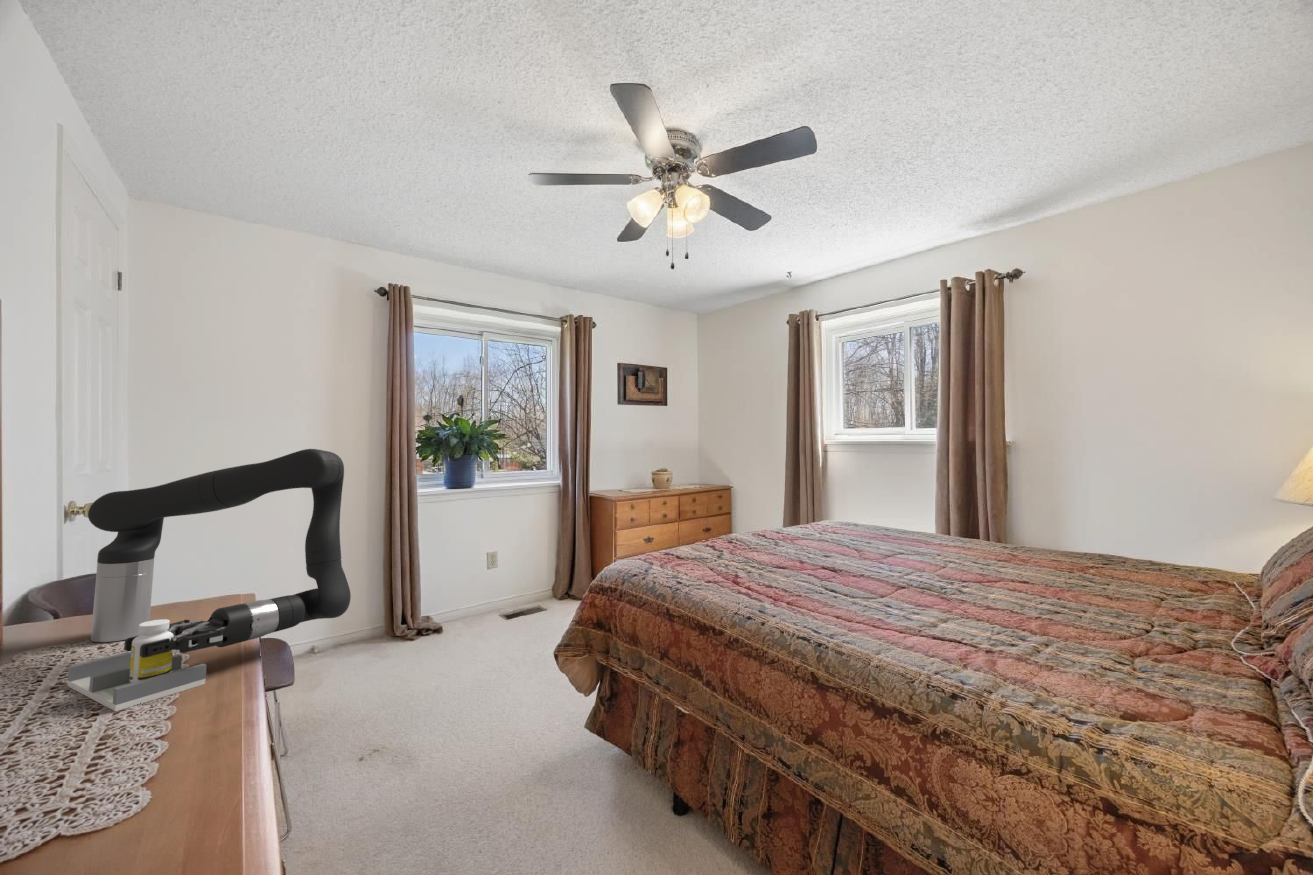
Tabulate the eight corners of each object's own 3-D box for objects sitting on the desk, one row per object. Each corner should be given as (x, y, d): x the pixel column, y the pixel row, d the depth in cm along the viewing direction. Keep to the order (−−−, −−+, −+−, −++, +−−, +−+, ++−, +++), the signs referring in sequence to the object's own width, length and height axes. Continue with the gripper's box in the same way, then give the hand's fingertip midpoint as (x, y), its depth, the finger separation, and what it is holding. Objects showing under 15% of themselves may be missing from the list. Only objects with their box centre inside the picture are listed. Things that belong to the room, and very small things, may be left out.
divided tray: (67, 685, 92) (68, 665, 92) (154, 663, 103) (156, 645, 103) (115, 711, 84) (117, 689, 84) (205, 683, 95) (206, 664, 95)
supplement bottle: (179, 672, 94) (183, 618, 95) (147, 685, 89) (151, 628, 89) (153, 670, 95) (156, 617, 95) (119, 683, 89) (123, 626, 90)
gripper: (227, 598, 108) (116, 620, 93) (266, 608, 102) (153, 633, 87) (225, 634, 108) (113, 662, 93) (263, 646, 102) (150, 678, 86)
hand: (133, 648), depth 90 cm, fingers closed on supplement bottle, 5 cm apart
